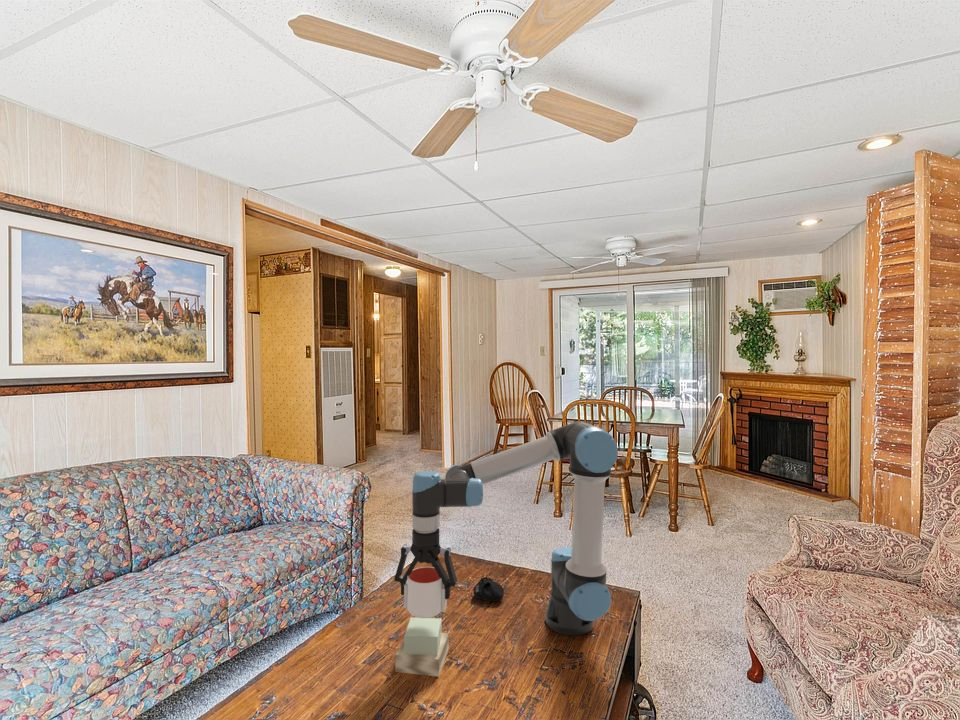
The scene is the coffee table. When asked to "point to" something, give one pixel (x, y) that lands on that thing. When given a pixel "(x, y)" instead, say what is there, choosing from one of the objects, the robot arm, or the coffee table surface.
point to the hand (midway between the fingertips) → (425, 607)
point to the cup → (424, 592)
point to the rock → (488, 590)
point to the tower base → (422, 660)
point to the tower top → (423, 636)
